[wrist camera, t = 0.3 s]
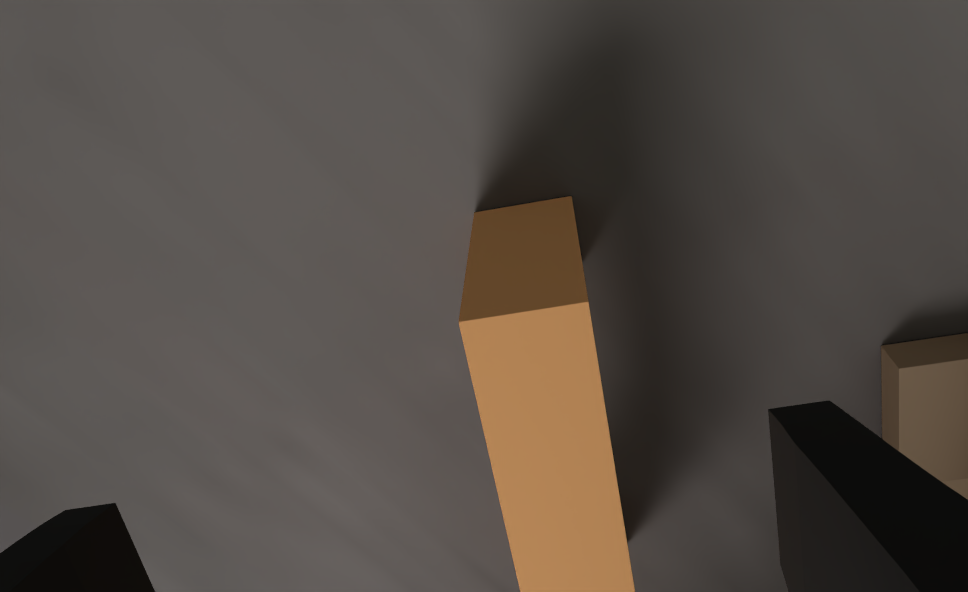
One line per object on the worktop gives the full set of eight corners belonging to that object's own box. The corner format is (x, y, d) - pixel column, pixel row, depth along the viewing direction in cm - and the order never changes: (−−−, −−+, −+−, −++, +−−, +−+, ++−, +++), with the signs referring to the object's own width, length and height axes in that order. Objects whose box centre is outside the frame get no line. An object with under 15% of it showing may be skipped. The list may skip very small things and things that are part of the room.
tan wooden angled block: (627, 544, 22) (654, 719, 17) (545, 554, 22) (551, 729, 17) (571, 195, 18) (588, 301, 13) (474, 212, 18) (458, 322, 14)
